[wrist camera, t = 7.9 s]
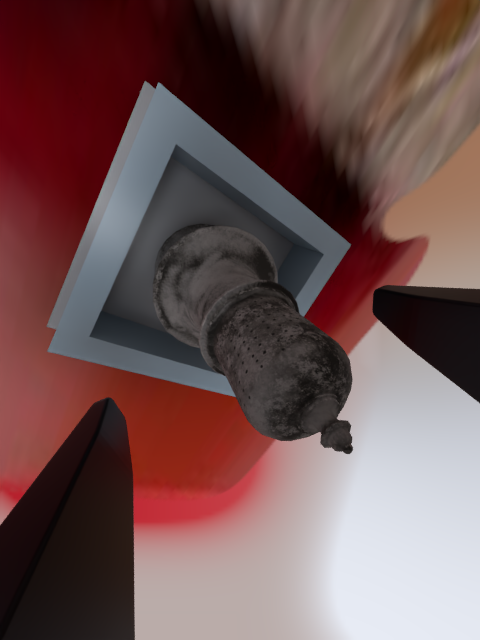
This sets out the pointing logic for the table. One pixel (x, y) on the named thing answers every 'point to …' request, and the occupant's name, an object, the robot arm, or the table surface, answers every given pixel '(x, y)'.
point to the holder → (159, 224)
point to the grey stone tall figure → (253, 333)
